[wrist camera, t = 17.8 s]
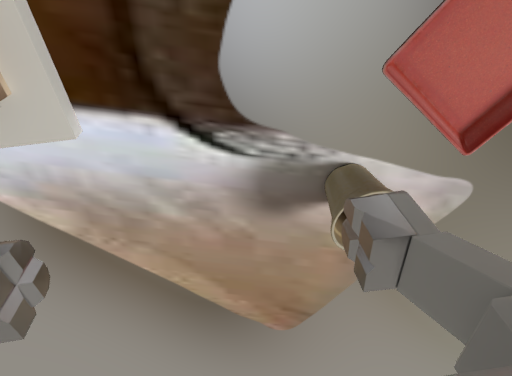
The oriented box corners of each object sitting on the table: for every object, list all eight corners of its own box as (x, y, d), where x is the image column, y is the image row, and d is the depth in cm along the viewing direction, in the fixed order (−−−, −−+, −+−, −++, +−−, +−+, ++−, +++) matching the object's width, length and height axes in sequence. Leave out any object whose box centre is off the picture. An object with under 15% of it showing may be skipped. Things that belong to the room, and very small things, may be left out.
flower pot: (370, 209, 47) (397, 252, 40) (307, 210, 46) (324, 254, 39) (388, 152, 42) (424, 190, 35) (319, 152, 41) (341, 191, 34)
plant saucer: (451, 147, 43) (467, 159, 40) (367, 62, 35) (379, 70, 33) (590, 30, 36) (621, 35, 33) (523, -109, 28) (555, -116, 26)
